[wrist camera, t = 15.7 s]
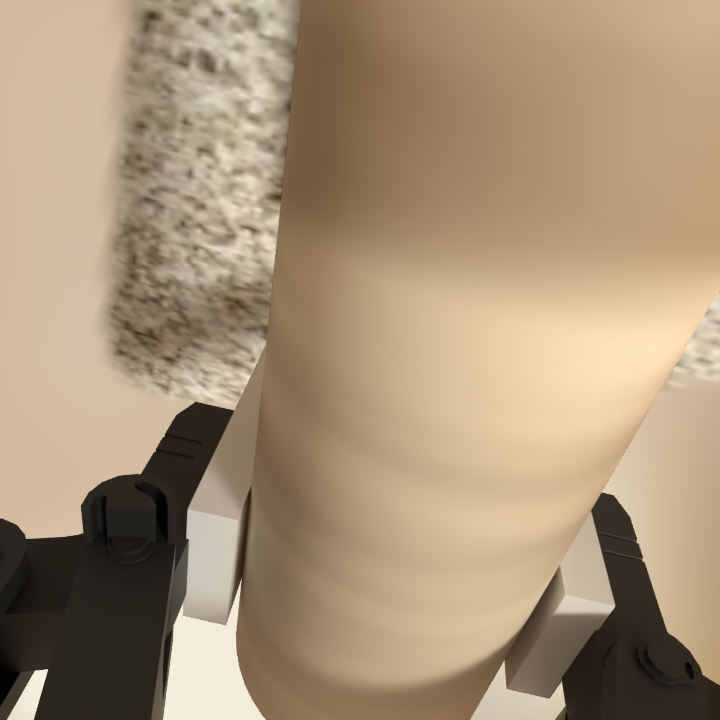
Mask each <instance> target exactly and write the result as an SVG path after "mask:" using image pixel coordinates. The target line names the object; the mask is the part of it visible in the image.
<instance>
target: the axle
mask: <svg viewBox="0 0 720 720" xmlns="http://www.w3.org/2000/svg"><path fill="white" fill-rule="evenodd" d="M719 289H720V0H302V5H301V15H300V24H299V34H298V44H297V53H296V63H295V72H294V82H293V92H292V101H291V111H290V120H289V130H288V140H287V149H286V159H285V169H284V178H283V188H282V197H281V207H280V217H279V226H278V236H277V246H276V255H275V265H274V274H273V284H272V294H271V303H270V313H269V322H268V332H267V342H266V351H265V361H264V371H263V380H262V390H261V399H260V409H259V419H258V428H257V438H256V447H255V457H254V467H253V476H252V486H251V496H250V505H249V515H248V524H247V534H246V544H245V553H244V563H243V572H242V582H241V592H240V602H239V612H238V621H237V630H236V647H237V656H238V662H239V667H240V670H241V674H242V677H243V680H244V683H245V685H246V687H247V690H248V692H249V694H250V696H251V698H252V700H253V702H254V703H255V705H256V706H257V708H258V709H259V711H260V712H261V714H262V716H263V717H264V718H265V719H266V720H470V719H471V717H472V715H473V713H474V712H475V710H476V708H477V707H478V705H479V703H480V701H481V700H482V698H483V696H484V694H485V693H486V691H487V689H488V687H489V686H490V684H491V682H492V681H493V679H494V677H495V676H496V674H497V672H498V670H499V669H500V667H501V665H502V663H503V662H504V660H505V658H506V657H507V655H508V653H509V651H510V650H511V648H512V646H513V644H514V643H515V641H516V639H517V638H518V636H519V634H520V632H521V631H522V629H523V627H524V625H525V624H526V622H527V620H528V619H529V617H530V615H531V613H532V612H533V610H534V608H535V606H536V605H537V603H538V601H539V600H540V598H541V596H542V594H543V593H544V591H545V589H546V587H547V586H548V584H549V582H550V581H551V579H552V577H553V575H554V574H555V572H556V570H557V568H558V567H559V565H560V563H561V562H562V560H563V558H564V556H565V555H566V553H567V551H568V550H569V548H570V546H571V544H572V543H573V541H574V539H575V537H576V536H577V534H578V532H579V531H580V529H581V527H582V525H583V524H584V522H585V520H586V518H587V517H588V515H589V513H590V512H591V510H592V508H593V506H594V505H595V503H596V501H597V499H598V498H599V496H600V494H601V493H602V491H603V489H604V487H605V486H606V484H607V482H608V480H609V479H610V477H611V475H612V474H613V472H614V470H615V468H616V466H617V465H618V463H619V461H620V460H621V458H622V456H623V455H624V453H625V451H626V449H627V448H628V446H629V444H630V442H631V441H632V439H633V437H634V436H635V434H636V432H637V430H638V428H639V427H640V425H641V424H642V422H643V420H644V418H645V417H646V415H647V413H648V411H649V410H650V408H651V406H652V405H653V403H654V401H655V399H656V398H657V396H658V394H659V392H660V391H661V389H662V387H663V386H664V384H665V382H666V380H667V379H668V377H669V375H670V373H671V372H672V370H673V368H674V367H675V365H676V363H677V361H678V360H679V358H680V356H681V354H682V353H683V351H684V349H685V348H686V346H687V344H688V342H689V341H690V339H691V337H692V335H693V334H694V332H695V330H696V329H697V327H698V325H699V323H700V322H701V320H702V318H703V316H704V315H705V313H706V311H707V310H708V308H709V306H710V304H711V303H712V301H713V299H714V298H715V296H716V294H717V292H718V291H719Z"/></svg>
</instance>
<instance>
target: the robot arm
mask: <svg viewBox="0 0 720 720" xmlns="http://www.w3.org/2000/svg"><path fill="white" fill-rule="evenodd" d="M265 351H266V346H265V348H264V350H263V352H262V354H261V356H260V358H259V360H258V363H257V365H256V367H255V369H254V371H253V373H252V375H251V377H250V379H249V381H248V383H247V386H246V388H245V390H244V392H243V394H242V396H241V398H240V400H239V402H238V404H237V407H236V409H235V411H234V410H229V409H225V408H221V407H216V406H212V405H208V404H203V403H199V402H195V403H193V404H192V405H190V406H189V407H188V408H186V409H185V410H183V411H182V412H180V413H179V414H177V415H176V417H175V418H174V420H173V421H172V423H171V425H170V427H169V428H168V430H167V432H166V433H165V437H163V438H162V440H161V441H160V443H159V445H158V447H157V448H156V452H154V453H153V455H152V456H151V458H150V460H149V462H148V463H147V465H146V467H145V468H144V470H143V471H142V473H141V475H139V474H133V475H122V476H117V477H115V478H112V479H109V480H107V481H104V482H102V483H101V484H99V485H98V486H97V487H95V488H94V489H93V490H91V491H90V492H89V493H88V495H87V496H86V498H85V500H84V502H83V503H82V505H81V512H82V521H83V532H84V533H83V534H79V535H74V536H67V537H55V538H39V539H38V538H37V539H26V538H25V534H24V533H23V532H22V531H21V530H20V528H19V527H18V526H17V525H16V524H14V523H11V522H9V521H6V520H4V519H0V720H7V718H8V717H9V715H10V713H11V711H12V710H13V708H14V706H15V704H16V703H17V701H18V699H19V697H20V696H21V694H22V692H23V690H24V689H25V687H26V685H27V683H28V682H29V680H30V678H31V676H32V674H33V673H34V671H35V670H44V669H48V672H47V676H46V679H45V683H44V686H43V690H42V693H41V697H40V700H39V704H38V707H37V711H36V714H35V718H34V720H163V714H164V706H165V698H166V690H167V682H168V674H169V667H170V658H171V651H172V642H173V625H174V623H175V621H176V618H177V616H178V613H179V611H180V608H181V606H182V603H183V601H184V603H183V616H187V617H192V618H196V619H200V620H205V621H209V622H214V623H219V624H222V625H226V623H227V620H228V617H229V614H230V611H231V608H232V605H233V602H234V599H235V596H236V593H237V590H238V587H239V584H240V581H241V578H242V572H243V563H244V553H245V544H246V534H247V524H248V515H249V505H250V496H251V486H252V476H253V467H254V457H255V447H256V438H257V428H258V419H259V409H260V399H261V390H262V380H263V371H264V361H265ZM636 541H637V537H636V534H635V531H634V528H633V525H632V522H631V519H630V517H629V515H628V514H627V512H626V511H625V510H624V509H623V507H622V506H621V504H620V503H619V502H618V501H617V499H616V498H615V497H614V495H610V494H606V493H601V494H600V496H599V498H598V499H597V501H596V503H595V505H594V506H593V508H592V510H591V512H590V513H589V515H588V517H587V518H586V520H585V522H584V524H583V525H582V527H581V529H580V531H579V532H578V534H577V536H576V537H575V539H574V541H573V543H572V544H571V546H570V548H569V550H568V551H567V553H566V555H565V556H564V558H563V560H562V562H561V563H560V565H559V567H558V568H557V570H556V572H555V574H554V575H553V577H552V579H551V581H550V582H549V584H548V586H547V587H546V589H545V591H544V593H543V594H542V596H541V598H540V600H539V601H538V603H537V605H536V606H535V608H534V610H533V612H532V613H531V615H530V617H529V619H528V620H527V622H526V624H525V625H524V627H523V629H522V631H521V632H520V634H519V636H518V638H517V639H516V641H515V643H514V644H513V646H512V648H511V650H510V651H509V653H508V655H507V657H506V658H505V671H506V672H505V673H506V686H507V689H509V690H514V691H518V692H523V693H527V694H531V695H536V696H540V697H545V698H550V697H551V696H552V694H553V693H554V692H555V690H556V688H557V687H558V686H559V684H560V683H561V682H562V685H563V690H564V697H565V703H566V706H565V707H564V709H563V710H562V712H561V713H560V714H559V715H558V717H557V718H556V719H555V720H720V685H718V684H716V683H715V682H713V681H711V680H709V679H708V678H707V677H705V676H703V675H702V672H701V668H700V666H699V665H698V663H697V662H696V660H695V659H694V657H693V656H692V654H691V653H690V651H689V650H688V649H687V648H686V647H685V646H684V645H683V644H682V643H680V642H679V641H678V640H677V639H676V638H675V637H673V636H672V635H670V634H668V632H667V630H666V627H665V624H664V621H663V618H662V615H661V612H660V609H659V606H658V602H657V599H656V596H655V593H654V590H653V587H652V584H651V581H650V578H649V575H648V571H647V568H646V565H645V563H644V562H642V559H643V556H642V553H641V550H640V547H639V544H638V543H636Z"/></svg>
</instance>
